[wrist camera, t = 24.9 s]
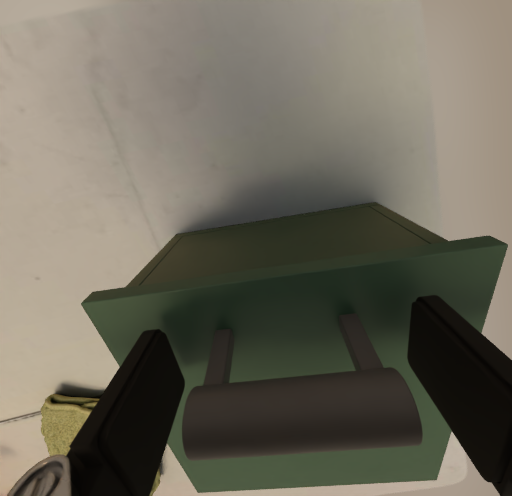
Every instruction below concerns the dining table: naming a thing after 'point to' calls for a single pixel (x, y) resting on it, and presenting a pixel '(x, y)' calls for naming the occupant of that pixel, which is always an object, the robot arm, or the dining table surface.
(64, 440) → the washcloth
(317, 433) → the lid
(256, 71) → the dining table surface
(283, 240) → the chest
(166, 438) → the robot arm
